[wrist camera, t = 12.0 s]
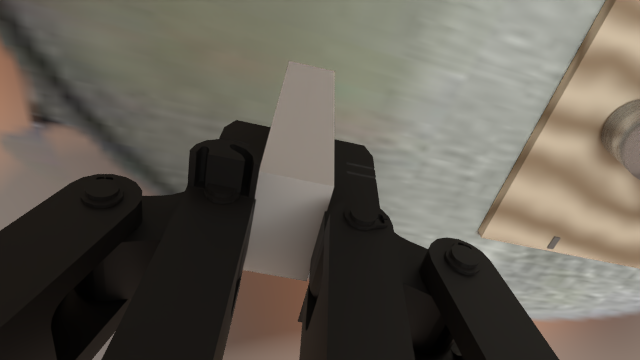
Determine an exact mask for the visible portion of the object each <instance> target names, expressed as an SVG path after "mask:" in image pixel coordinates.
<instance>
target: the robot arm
mask: <svg viewBox="0 0 640 360" xmlns="http://www.w3.org/2000/svg"><path fill="white" fill-rule="evenodd" d="M334 124H335V71H332V70H327V69H323V68H318V67H314V66H310V65H305V64H301V63H296V62H292V61H289V63H288V67H287V70H286V74H285V78H284V81H283V85H282V89H281V92H280V96H279V100H278V103H277V107H276V111H275V114H274V118H273V122H272V125H271V127H266V126H262V125H257V124H252V123H247V122H243V121H238V120H236V121H234V122H232V123H231V124H229V125H228V126H226V127H224V129H223V131H222V134H221V136H220V139H216V140H206V141H204V142H201V143H198V144H196V145H195V146H194V147H193V148H192V149H191V150H190V156H189V173H188V186H187V188H186V190H185V191H184V192H181V193H177V194H173V195H164V196H142V190H141V188H140V187H139V186H138V184H137V183H136V182H134V181H132V180H130V179H129V178H127V177H123V176H118V175H114V174H97V175H92V176H87V177H83V178H80V179H78V180H76V181H74V182H72V183H70V184H69V185H67V186H66V187H64V188H63V189H61V190H60V191H58V192H57V193H55V194H54V195H52V196H51V197H49V198H48V199H47V200H45V201H43V202H42V203H41V204H39V205H38V206H36V207H35V208H33V209H32V210H30V211H29V212H27V213H26V214H24V215H23V216H21V217H20V218H19V219H17V220H16V221H14V222H12V223H11V224H10V225H8V226H7V227H5V228H4V229H2V230H1V231H0V360H92V359H93V358H94V356H95V355H96V354H97V353H98V352H99V350H100V349H101V348H102V346H104V344H105V343H106V342H107V341H108V339H109V338H110V337H111V336H112V335H113V334H114V332H115V331H116V332H115V334H114V336H113V338H112V340H111V342H110V344H109V346H108V348H107V350H106V352H105V354H104V356H103V358H102V360H222V359H223V355H224V350H225V346H226V341H227V337H228V334H229V329H230V325H231V321H232V317H233V312H234V308H235V304H236V300H237V296H238V292H239V287H240V280H241V275H242V270H247V271H252V272H258V273H264V274H269V275H275V276H281V277H286V278H292V279H298V280H303V281H307V278H308V275H309V271H310V278H309V285H308V289H307V292H306V296H305V299H304V302H303V306H302V309H301V312H300V316H299V319H298V322H302V334H301V347H300V359H299V360H559V359H558V357H557V356H556V354H555V353H554V352H553V350H552V349H551V347H550V346H549V344H548V343H547V341H546V340H545V338H544V337H543V336H542V334H541V333H540V331H539V330H538V329H537V327H536V326H535V324H534V323H533V321H532V320H531V318H530V317H529V316H528V314H527V313H526V311H525V310H524V308H523V307H522V305H521V304H520V303H519V301H518V300H517V298H516V297H515V295H514V294H513V293H512V291H511V290H510V288H509V287H508V285H507V284H506V282H505V281H504V280H503V278H502V277H501V275H500V274H499V272H498V271H497V270H496V268H495V267H494V265H493V264H492V262H491V261H490V260H489V259H488V258H487V257H486V256H485V255H484V253H483V252H481V251H480V250H478V249H477V248H476V247H474V246H473V245H471V244H469V243H467V242H464V241H461V240H459V239H453V238H441V239H437V240H435V241H434V242H433V243H431V245H430V247H429V249H426V248H424V247H422V246H419V245H417V244H415V243H412V242H410V241H408V240H406V239H404V238H402V237H400V236H399V235H397V234H396V233H395V232H394V230H393V225H392V223H391V220H390V218H389V217H388V216H387V215H386V214H385V212H384V211H383V210H381V209H380V205H379V198H378V191H377V183H376V179H375V177H376V176H375V170H374V162H373V157H372V155H371V154H370V153H369V151H368V150H367V149H366V147H365V146H363V145H358V144H354V143H349V142H344V141H339V140H335V139H334Z"/></svg>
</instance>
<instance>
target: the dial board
mask: <svg viewBox="0 0 640 360" xmlns="http://www.w3.org/2000/svg"><path fill="white" fill-rule="evenodd" d="M639 99H640V0H606V1H605V3H604V5H603V7H602V8H601V10H600V12H599V14H598V16H597V17H596V19H595V21H594V23H593V25H592V26H591V28H590V30H589V32H588V34H587V35H586V37H585V39H584V41H583V43H582V44H581V46H580V48H579V50H578V52H577V53H576V55H575V57H574V59H573V61H572V62H571V64H570V66H569V68H568V70H567V71H566V73H565V75H564V77H563V79H562V80H561V82H560V84H559V86H558V88H557V89H556V91H555V93H554V95H553V97H552V98H551V100H550V102H549V104H548V106H547V107H546V109H545V111H544V113H543V115H542V116H541V118H540V120H539V122H538V124H537V125H536V127H535V129H534V131H533V133H532V134H531V136H530V138H529V140H528V142H527V143H526V145H525V147H524V149H523V151H522V152H521V154H520V156H519V158H518V160H517V161H516V163H515V165H514V167H513V168H512V170H511V172H510V174H509V176H508V177H507V179H506V181H505V183H504V185H503V186H502V188H501V190H500V192H499V194H498V195H497V197H496V199H495V201H494V203H493V204H492V206H491V208H490V210H489V212H488V213H487V215H486V217H485V219H484V221H483V222H482V224H481V226H480V228H479V230H478V231H479V233H480V236H481V238H486V239H491V240H496V241H502V242H507V243H512V244H517V245H522V246H527V247H532V248H537V249H543V250H548V251H553V252H558V253H563V254H568V255H573V256H578V257H584V258H589V259H594V260H599V261H604V262H609V263H614V264H619V265H624V266H630V267H635V268H640V180H639V179H637V178H636V177H635V176H633V175H632V174H631V173H630V172H629V171H628V170H627V169H626V168H625V167H624V166H623V165H622V164H621V163H620V162H619V161H618V160H617V159H616V158H615V157H614V156H612V155H611V154H610V153H609V152H608V151H607V150H606V149H605V148H604V146H603V144H602V141H601V133H602V129H603V127H604V125H605V123H606V121H607V120H608V119H609V117H610V116H611V115H612V114H613V113H614V112H615V111H616V110H618V109H619V108H620V107H622V106H624V105H625V104H627V103H630V102H632V101H635V100H639Z"/></svg>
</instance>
